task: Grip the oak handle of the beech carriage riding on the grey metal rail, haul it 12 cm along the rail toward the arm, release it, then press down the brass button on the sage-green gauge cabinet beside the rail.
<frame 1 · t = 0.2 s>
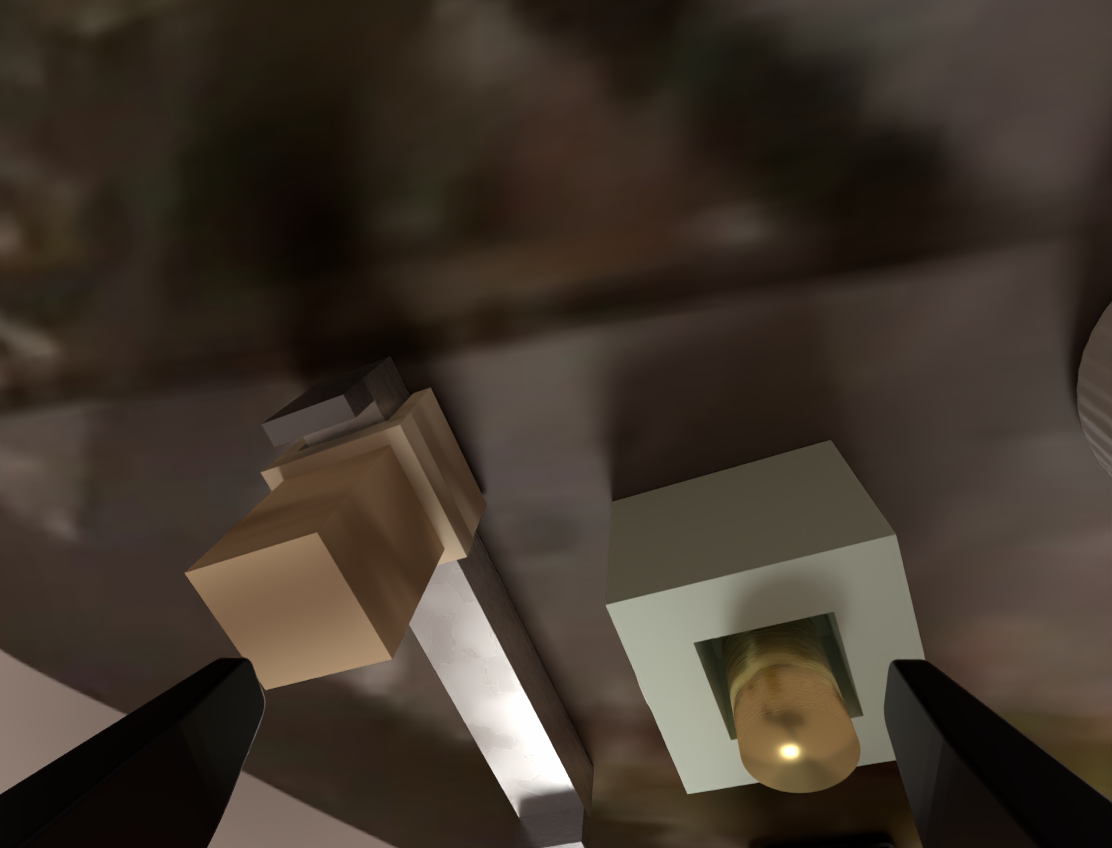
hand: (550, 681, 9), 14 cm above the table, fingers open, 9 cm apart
carriage: (355, 527, 20), point 5 cm above the table, slide at 0.0 cm
gauge cabinet: (746, 561, 24), on the table
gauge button: (782, 690, 18), point 6 cm above the table, slide at 0.0 cm
rail: (472, 597, 26), on the table
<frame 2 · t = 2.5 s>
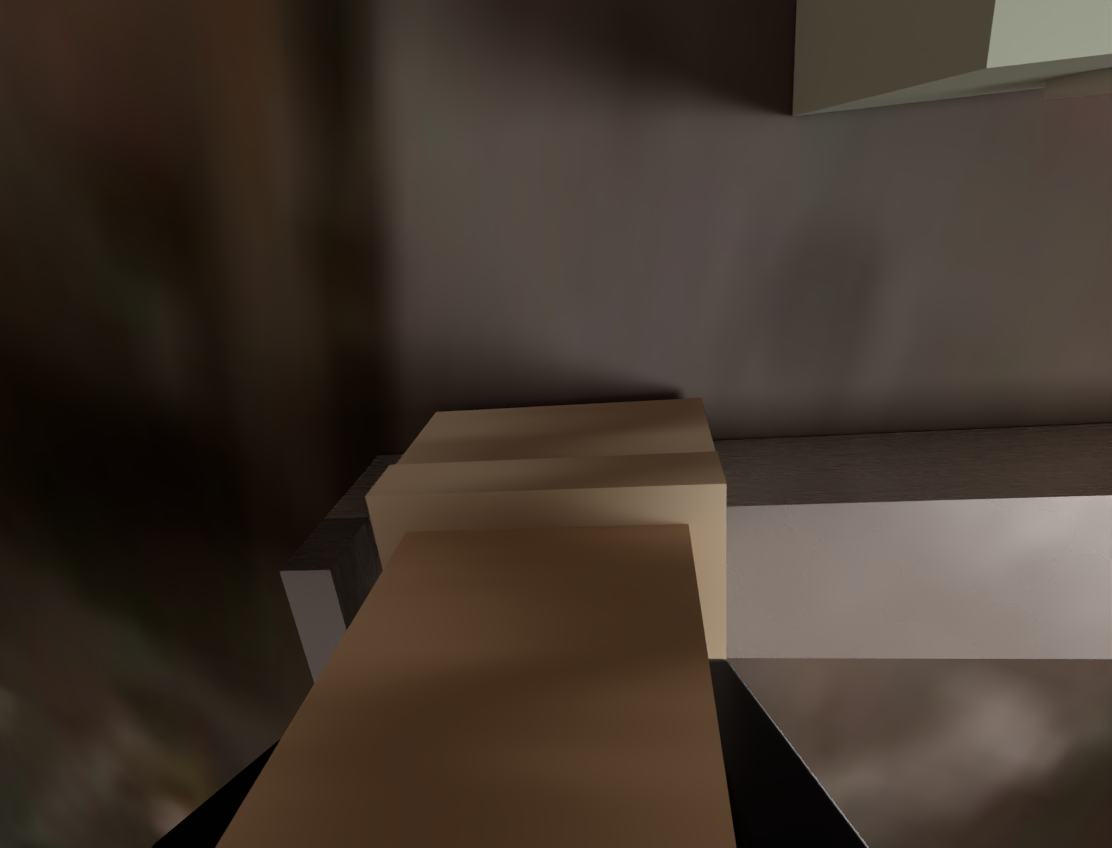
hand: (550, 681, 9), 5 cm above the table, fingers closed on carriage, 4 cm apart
carriage: (551, 678, 9), point 5 cm above the table, slide at 0.0 cm, touching gripper
rail: (913, 503, 12), on the table
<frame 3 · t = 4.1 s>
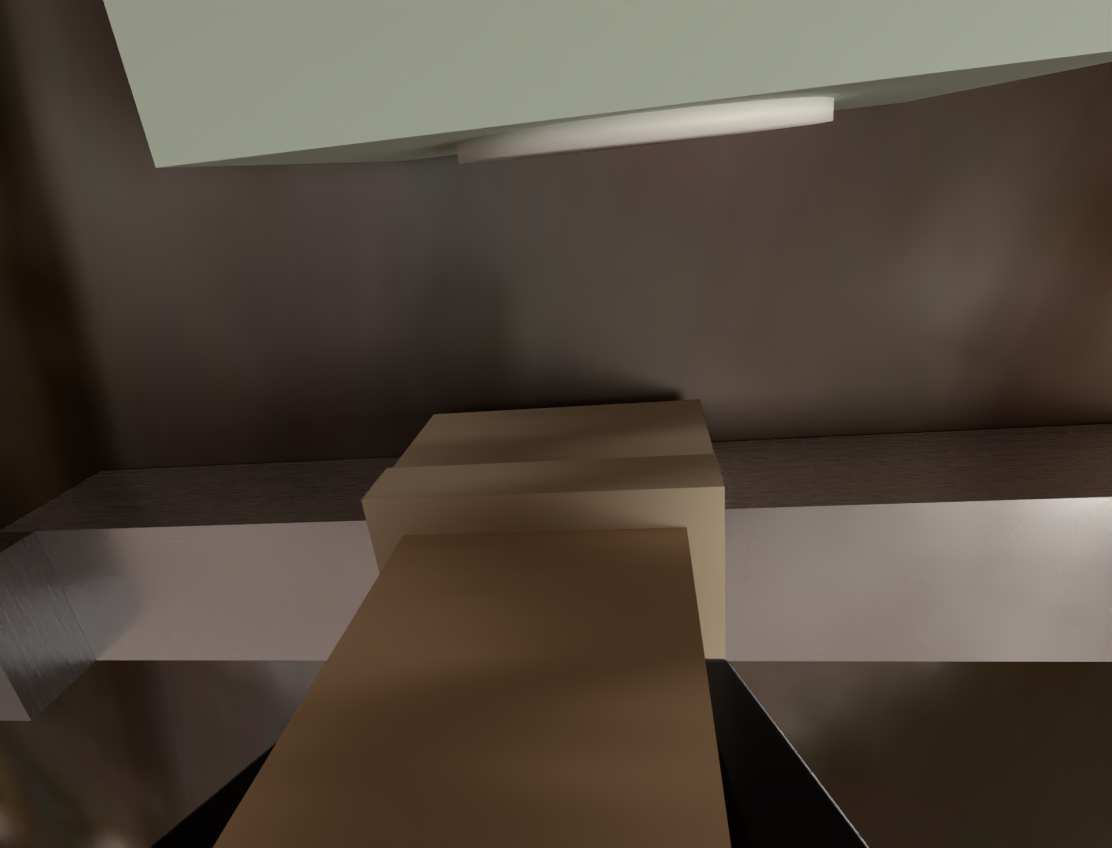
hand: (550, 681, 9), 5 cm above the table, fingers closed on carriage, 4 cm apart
carriage: (549, 683, 9), point 5 cm above the table, slide at 6.4 cm, touching gripper
rail: (581, 515, 13), on the table
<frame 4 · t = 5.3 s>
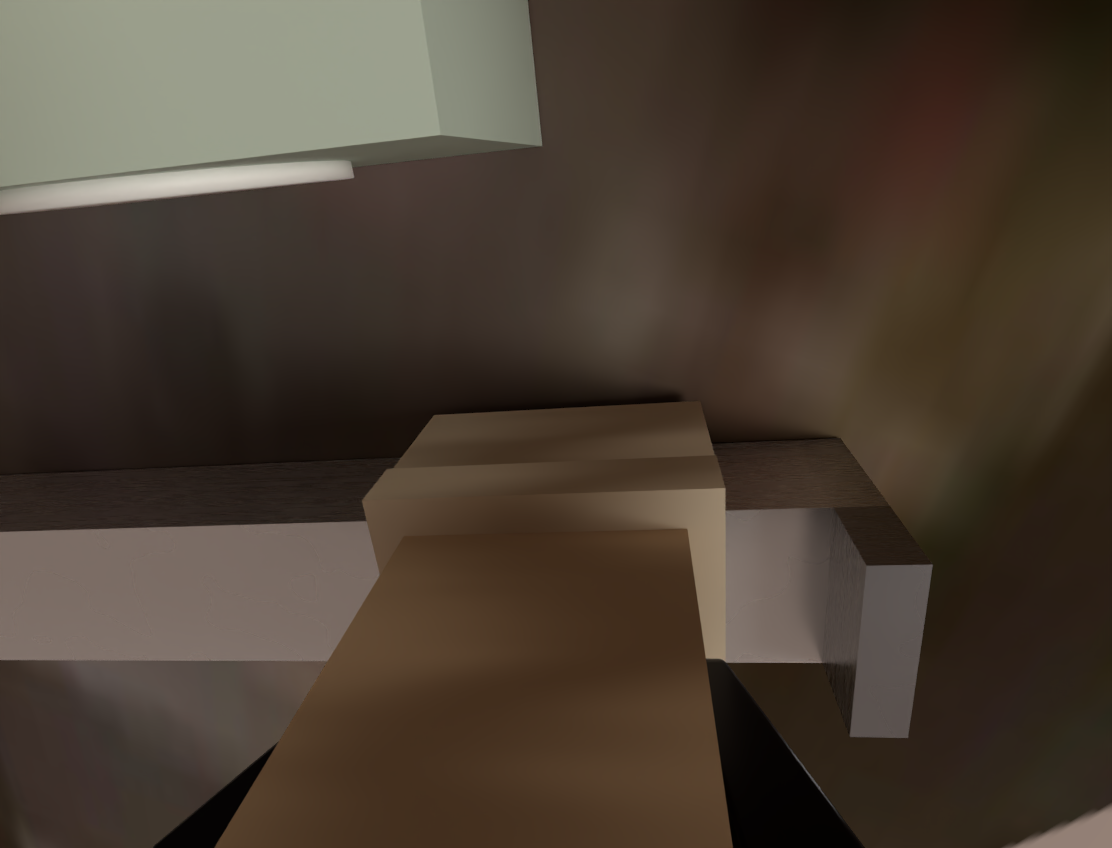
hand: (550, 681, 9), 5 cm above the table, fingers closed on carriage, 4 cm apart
carriage: (549, 684, 9), point 5 cm above the table, slide at 11.9 cm, touching gripper
rail: (327, 523, 14), on the table
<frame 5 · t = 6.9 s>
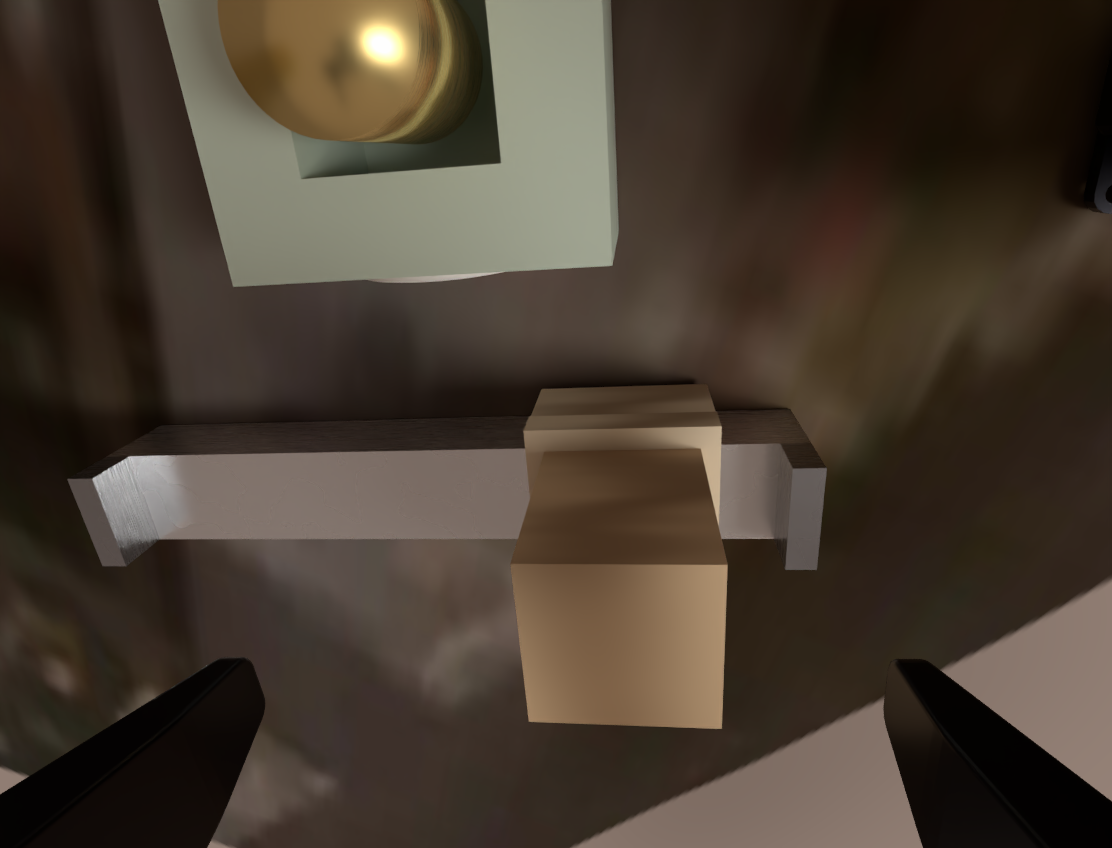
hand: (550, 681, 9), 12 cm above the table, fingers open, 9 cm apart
carriage: (623, 532, 16), point 5 cm above the table, slide at 12.0 cm
gauge cabinet: (462, 85, 17), on the table
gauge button: (372, 48, 11), point 6 cm above the table, slide at 0.0 cm
rail: (460, 459, 21), on the table
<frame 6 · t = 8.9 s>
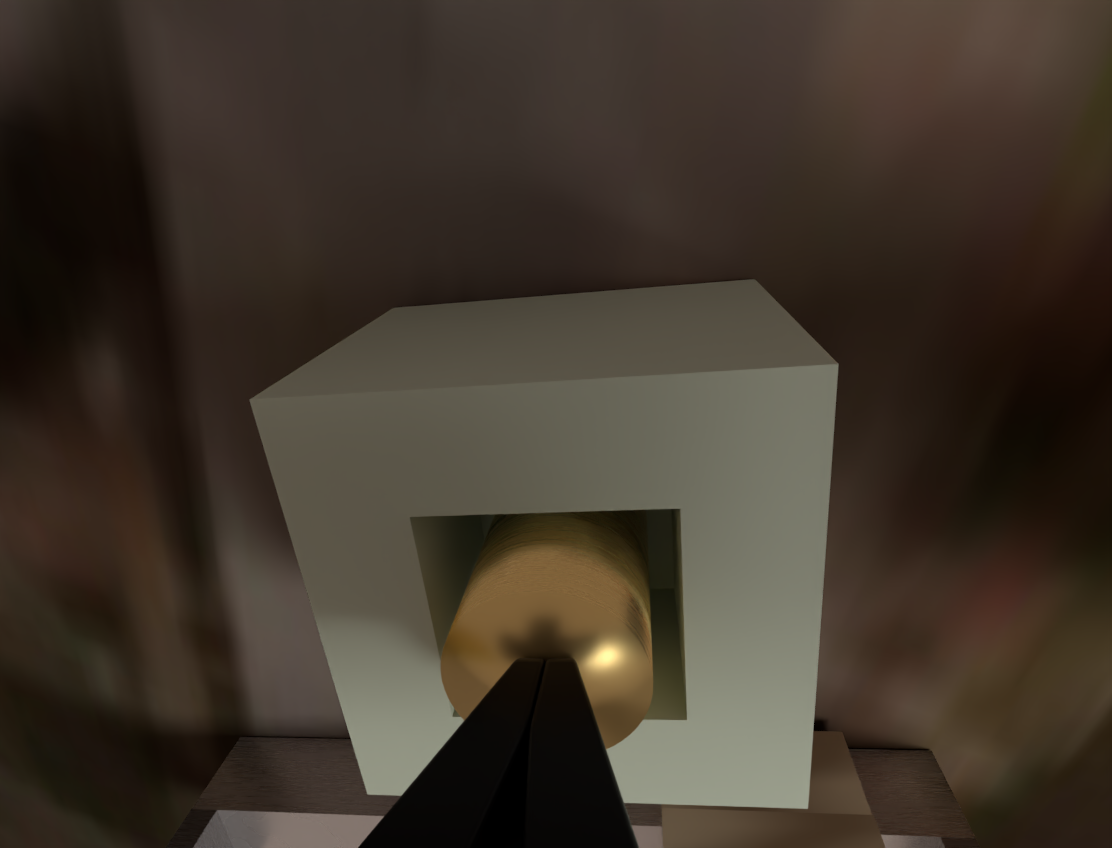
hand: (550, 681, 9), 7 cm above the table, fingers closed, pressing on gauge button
gauge cabinet: (582, 457, 16), on the table
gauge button: (560, 588, 11), point 5 cm above the table, slide at 1.3 cm, touching gripper
rail: (564, 778, 20), on the table
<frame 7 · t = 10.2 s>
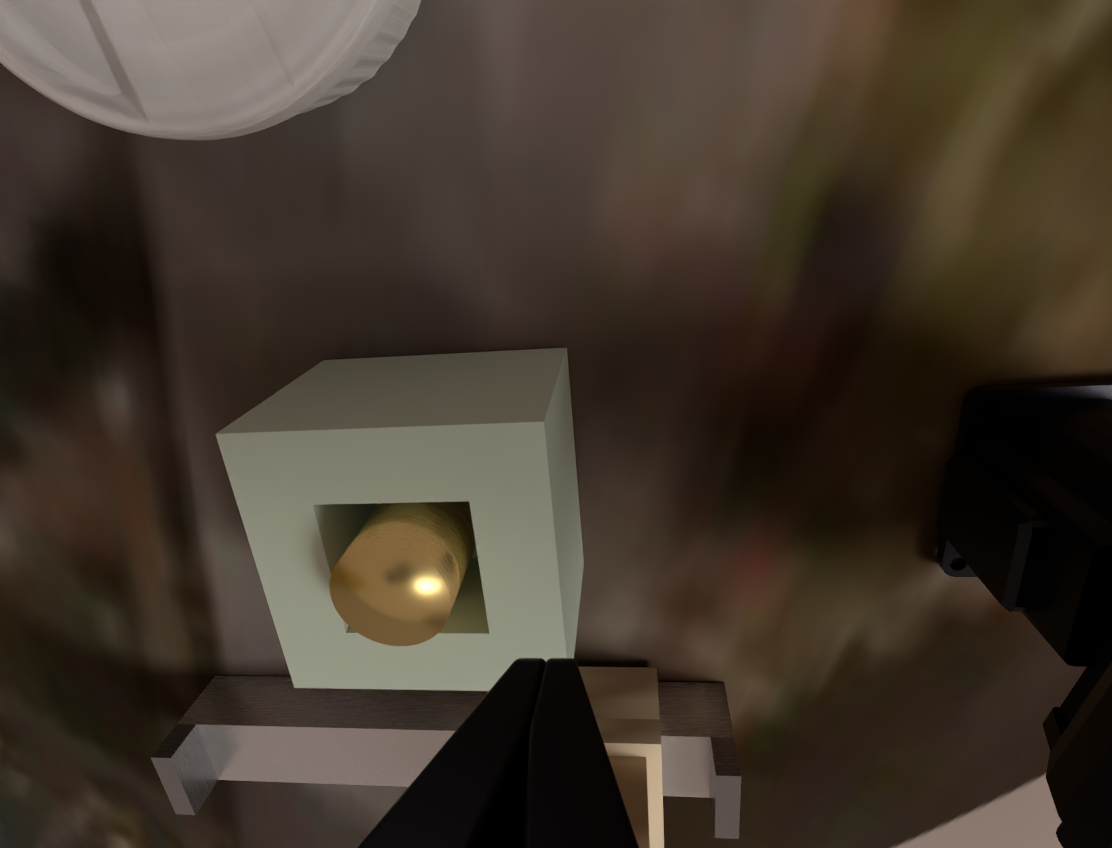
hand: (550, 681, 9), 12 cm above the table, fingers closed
carriage: (588, 818, 21), point 5 cm above the table, slide at 12.0 cm
gauge cabinet: (459, 466, 22), on the table
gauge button: (416, 548, 17), point 5 cm above the table, slide at 1.4 cm
rail: (461, 707, 26), on the table
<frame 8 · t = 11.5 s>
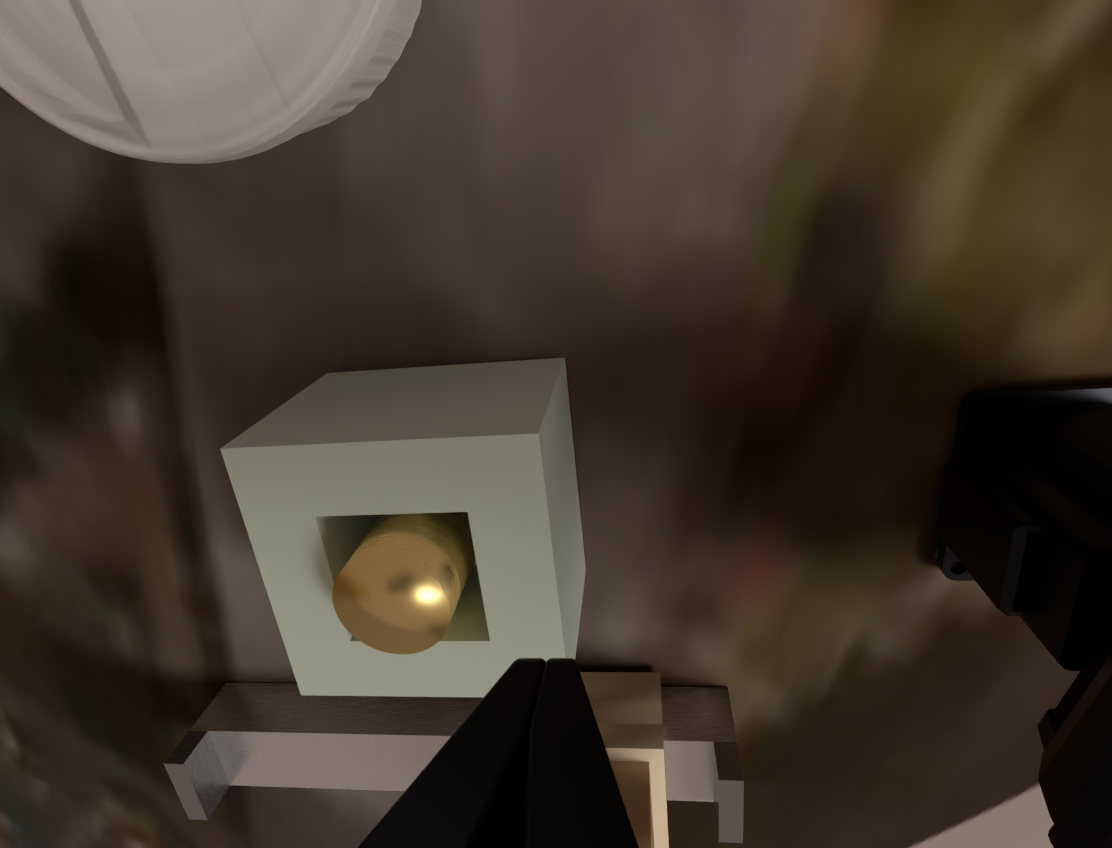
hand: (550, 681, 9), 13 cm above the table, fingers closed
carriage: (592, 822, 22), point 5 cm above the table, slide at 12.0 cm
gauge cabinet: (461, 475, 22), on the table
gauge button: (417, 557, 18), point 5 cm above the table, slide at 1.4 cm
rail: (468, 712, 27), on the table
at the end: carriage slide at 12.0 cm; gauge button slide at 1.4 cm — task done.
